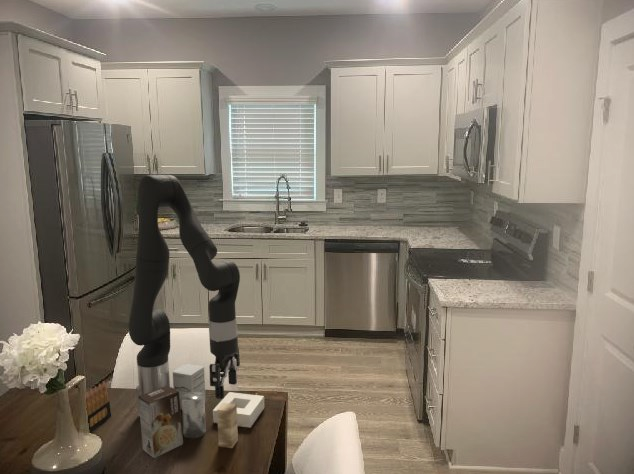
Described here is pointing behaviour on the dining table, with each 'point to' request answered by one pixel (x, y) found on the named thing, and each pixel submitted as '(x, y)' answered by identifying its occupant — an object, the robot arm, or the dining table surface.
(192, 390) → the supplement box
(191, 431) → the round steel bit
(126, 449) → the dining table surface
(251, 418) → the socket block
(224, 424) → the square peg
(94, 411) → the ammunition clip
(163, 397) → the coffee box
